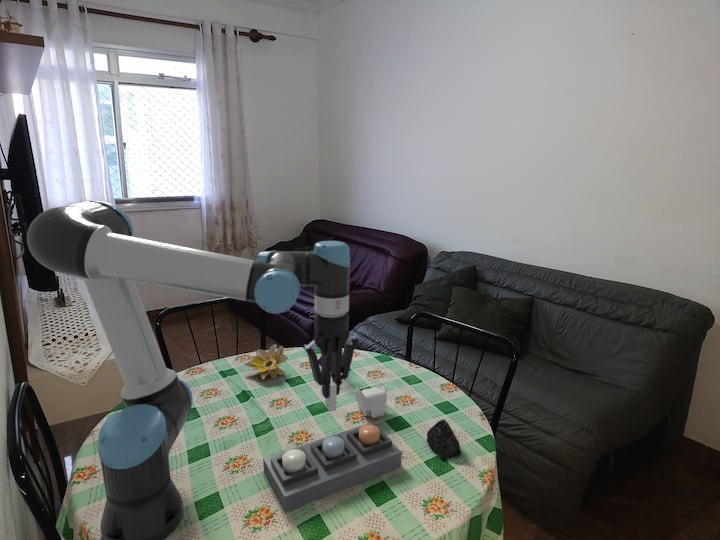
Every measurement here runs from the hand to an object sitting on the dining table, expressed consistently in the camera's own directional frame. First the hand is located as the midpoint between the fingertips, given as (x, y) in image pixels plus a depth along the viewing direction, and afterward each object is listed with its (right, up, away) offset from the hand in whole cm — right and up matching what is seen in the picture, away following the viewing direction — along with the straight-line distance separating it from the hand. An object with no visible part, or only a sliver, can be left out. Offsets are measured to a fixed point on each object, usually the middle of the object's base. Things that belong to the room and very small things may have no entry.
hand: (330, 408), depth 103 cm
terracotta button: (+9, -10, +8) cm, 16 cm away
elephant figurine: (+10, -10, +28) cm, 31 cm away
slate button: (0, -11, +3) cm, 12 cm away
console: (0, -16, +4) cm, 17 cm away
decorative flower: (-26, -4, +51) cm, 58 cm away
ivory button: (-8, -13, -2) cm, 15 cm away
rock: (+29, -15, +13) cm, 35 cm away
